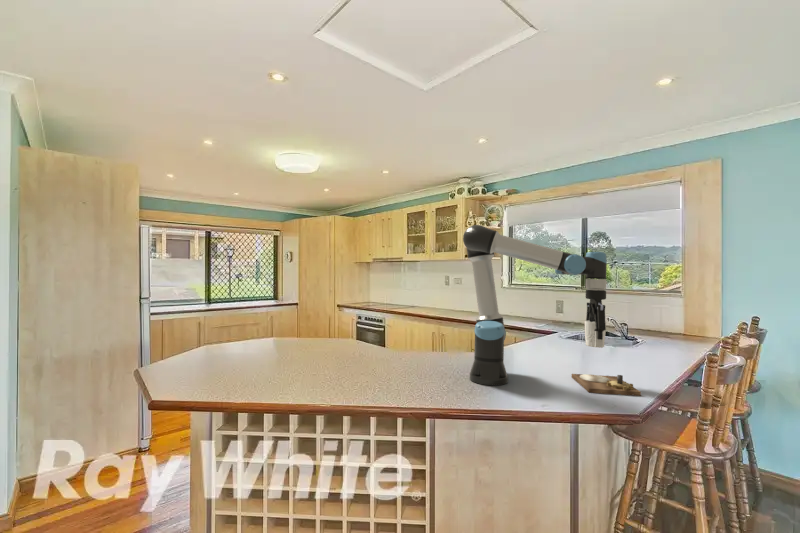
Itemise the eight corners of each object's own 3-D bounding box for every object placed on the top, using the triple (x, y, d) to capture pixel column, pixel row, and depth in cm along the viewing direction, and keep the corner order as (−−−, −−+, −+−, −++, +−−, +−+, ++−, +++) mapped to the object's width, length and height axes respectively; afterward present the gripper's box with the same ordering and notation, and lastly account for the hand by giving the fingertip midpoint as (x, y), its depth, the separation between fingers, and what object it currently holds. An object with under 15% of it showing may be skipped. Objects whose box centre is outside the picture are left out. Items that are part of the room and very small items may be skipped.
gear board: (588, 392, 141) (589, 377, 141) (571, 377, 162) (571, 363, 162) (640, 396, 138) (641, 380, 138) (616, 380, 159) (616, 366, 159)
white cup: (600, 344, 158) (601, 320, 158) (609, 348, 150) (609, 323, 150) (581, 343, 159) (581, 320, 159) (588, 347, 151) (589, 322, 151)
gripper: (616, 290, 144) (615, 350, 144) (596, 288, 164) (595, 341, 164) (595, 290, 145) (594, 349, 145) (578, 288, 165) (577, 340, 165)
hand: (595, 345), depth 154 cm, fingers closed on white cup, 7 cm apart
